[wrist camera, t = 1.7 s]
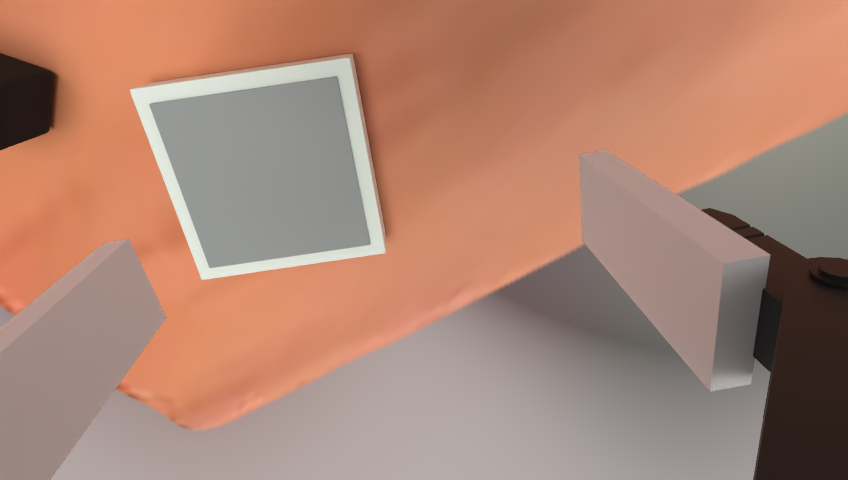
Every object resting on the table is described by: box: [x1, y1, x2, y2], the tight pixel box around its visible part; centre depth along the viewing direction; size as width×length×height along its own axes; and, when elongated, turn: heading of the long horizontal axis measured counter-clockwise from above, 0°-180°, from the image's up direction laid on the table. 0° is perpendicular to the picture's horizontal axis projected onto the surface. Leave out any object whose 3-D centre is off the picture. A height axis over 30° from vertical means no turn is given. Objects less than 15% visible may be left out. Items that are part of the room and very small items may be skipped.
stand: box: [129, 53, 386, 280], centre depth 35 cm, size 14×14×3 cm
